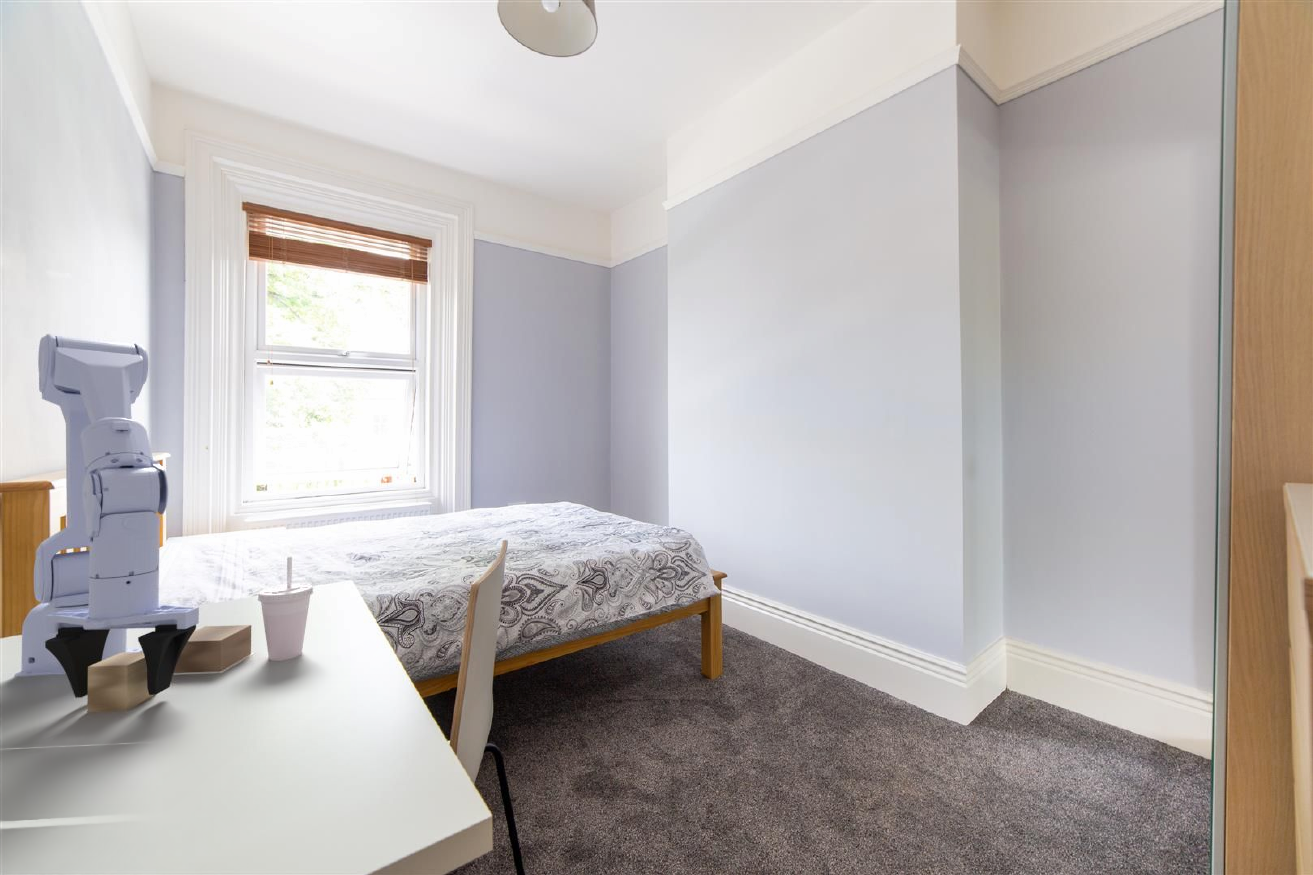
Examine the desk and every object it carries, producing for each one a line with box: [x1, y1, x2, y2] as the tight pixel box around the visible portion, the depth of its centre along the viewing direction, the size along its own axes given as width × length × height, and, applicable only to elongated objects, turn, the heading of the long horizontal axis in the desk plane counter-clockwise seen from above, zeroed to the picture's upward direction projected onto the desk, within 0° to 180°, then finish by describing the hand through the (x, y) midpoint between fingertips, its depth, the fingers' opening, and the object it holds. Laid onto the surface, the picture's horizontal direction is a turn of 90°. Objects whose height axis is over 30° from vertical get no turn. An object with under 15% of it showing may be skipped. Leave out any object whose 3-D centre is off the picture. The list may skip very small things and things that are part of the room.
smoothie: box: [257, 556, 314, 662], centre depth 75 cm, size 6×6×14 cm
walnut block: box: [174, 624, 252, 673], centre depth 73 cm, size 6×6×4 cm
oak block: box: [86, 652, 155, 713], centre depth 62 cm, size 4×4×5 cm
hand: (123, 692), depth 61 cm, fingers open, 7 cm apart
